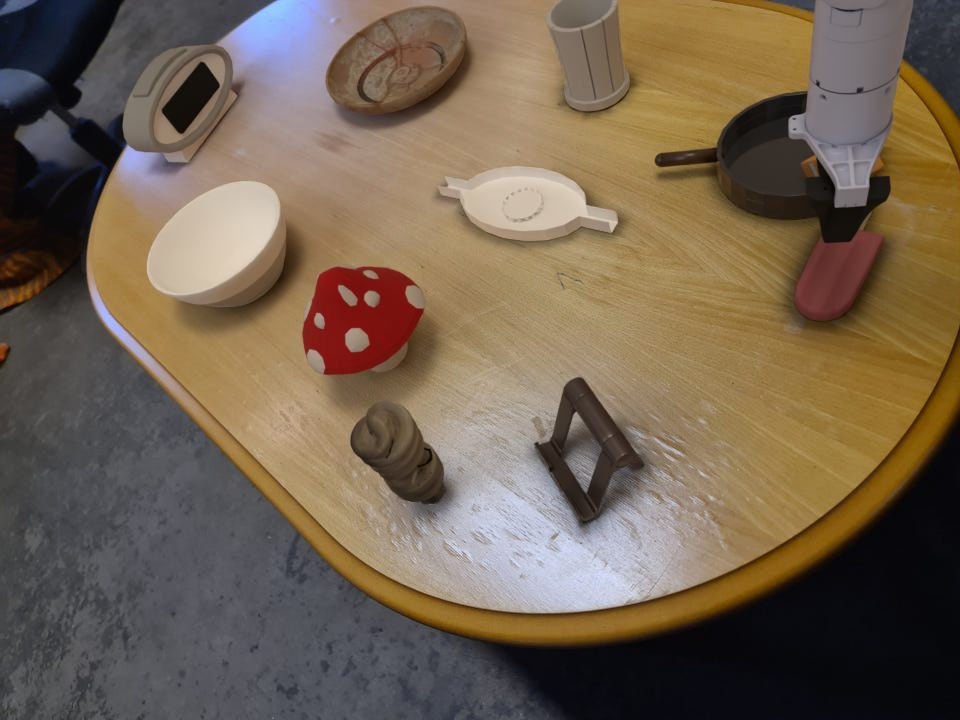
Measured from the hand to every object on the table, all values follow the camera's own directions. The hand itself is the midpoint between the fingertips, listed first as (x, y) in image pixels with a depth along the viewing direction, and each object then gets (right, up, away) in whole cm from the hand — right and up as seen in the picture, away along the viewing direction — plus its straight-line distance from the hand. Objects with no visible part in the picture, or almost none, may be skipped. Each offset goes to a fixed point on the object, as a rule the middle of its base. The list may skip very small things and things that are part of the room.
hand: (834, 205), depth 59 cm
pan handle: (-7, +9, +20) cm, 23 cm away
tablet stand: (-20, -23, +5) cm, 31 cm away
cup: (-15, +23, +35) cm, 45 cm away
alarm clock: (-79, +27, +62) cm, 104 cm away
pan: (+4, +8, +17) cm, 19 cm away
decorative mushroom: (-40, -13, +20) cm, 47 cm away
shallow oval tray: (-25, +6, +27) cm, 37 cm away
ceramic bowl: (-42, +31, +51) cm, 73 cm away
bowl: (-62, -2, +36) cm, 72 cm away
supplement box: (+6, +7, +14) cm, 16 cm away
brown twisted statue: (-34, -27, +9) cm, 44 cm away
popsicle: (+5, -4, +9) cm, 11 cm away
